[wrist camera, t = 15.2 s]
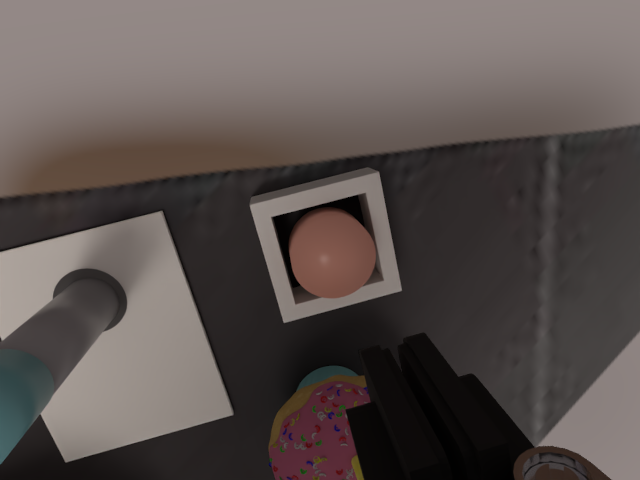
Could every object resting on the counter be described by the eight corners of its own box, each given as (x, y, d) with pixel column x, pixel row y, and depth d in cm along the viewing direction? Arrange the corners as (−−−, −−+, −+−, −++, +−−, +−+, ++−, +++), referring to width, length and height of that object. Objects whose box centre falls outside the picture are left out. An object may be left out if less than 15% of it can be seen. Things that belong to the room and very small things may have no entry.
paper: (233, 411, 28) (233, 415, 27) (67, 458, 27) (64, 463, 27) (162, 210, 24) (160, 211, 23) (-35, 260, 23) (-40, 262, 23)
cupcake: (282, 331, 27) (295, 489, 15) (407, 349, 28) (504, 504, 17) (258, 444, 29) (253, 657, 17) (375, 454, 30) (443, 658, 19)
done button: (371, 270, 25) (383, 286, 22) (299, 289, 24) (302, 308, 22) (356, 198, 23) (366, 206, 21) (279, 218, 23) (281, 229, 21)
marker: (128, 318, 25) (26, 461, 14) (75, 332, 25) (-67, 488, 14) (108, 270, 24) (-16, 385, 13) (53, 284, 24) (-116, 413, 13)
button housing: (389, 275, 27) (402, 290, 24) (282, 304, 26) (283, 323, 24) (367, 167, 25) (379, 171, 22) (251, 197, 24) (249, 205, 22)
